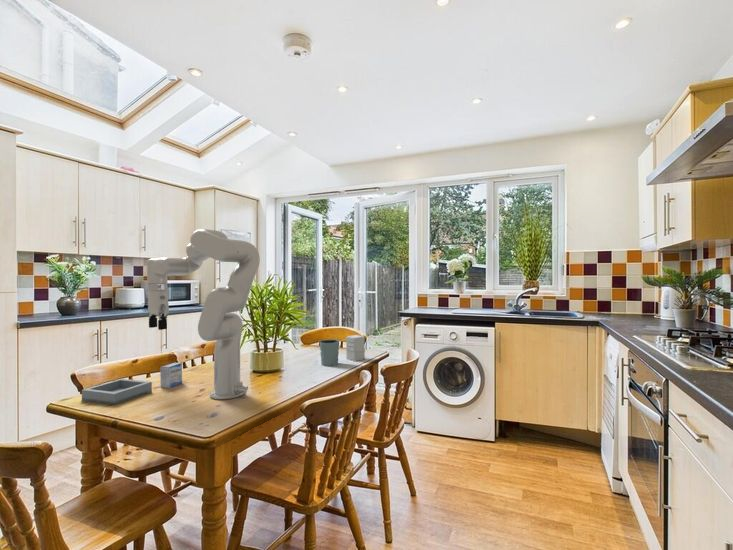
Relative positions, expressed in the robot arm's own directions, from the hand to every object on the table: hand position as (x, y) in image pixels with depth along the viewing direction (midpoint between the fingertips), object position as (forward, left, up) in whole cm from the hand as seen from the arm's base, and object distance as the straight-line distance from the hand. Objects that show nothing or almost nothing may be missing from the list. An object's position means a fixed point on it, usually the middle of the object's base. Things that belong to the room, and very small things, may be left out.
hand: (157, 328), depth 163 cm
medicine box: (-6, -2, -24) cm, 25 cm away
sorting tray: (+2, +16, -24) cm, 29 cm away
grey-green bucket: (-55, -56, -24) cm, 82 cm away
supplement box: (-64, -71, -24) cm, 98 cm away
